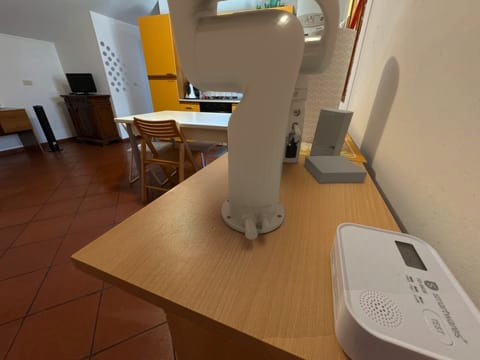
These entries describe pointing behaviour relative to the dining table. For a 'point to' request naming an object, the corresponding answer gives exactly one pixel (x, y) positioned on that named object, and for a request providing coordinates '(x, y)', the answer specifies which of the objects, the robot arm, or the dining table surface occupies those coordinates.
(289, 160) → the medicine box
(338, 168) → the grey base
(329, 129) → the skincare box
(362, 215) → the dining table surface
